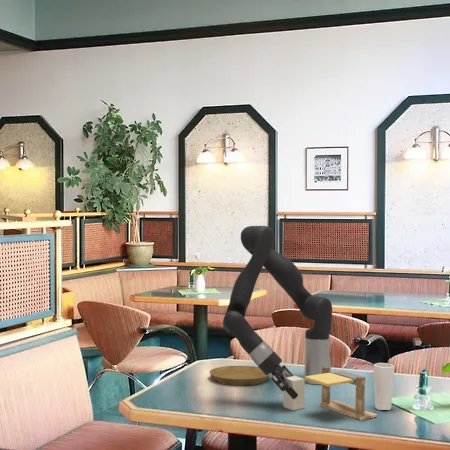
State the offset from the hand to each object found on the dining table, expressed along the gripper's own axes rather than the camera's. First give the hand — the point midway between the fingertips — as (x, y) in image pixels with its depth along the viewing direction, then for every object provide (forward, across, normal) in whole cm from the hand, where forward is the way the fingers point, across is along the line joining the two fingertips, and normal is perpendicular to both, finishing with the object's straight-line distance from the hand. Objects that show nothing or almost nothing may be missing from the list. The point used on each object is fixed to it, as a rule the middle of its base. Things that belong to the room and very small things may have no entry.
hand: (298, 394), depth 243 cm
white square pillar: (+2, 0, +4) cm, 5 cm away
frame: (+15, +1, -9) cm, 17 cm away
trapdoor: (+5, -3, -13) cm, 14 cm away
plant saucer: (-17, +32, +24) cm, 44 cm away
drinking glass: (+23, +8, -16) cm, 29 cm away
